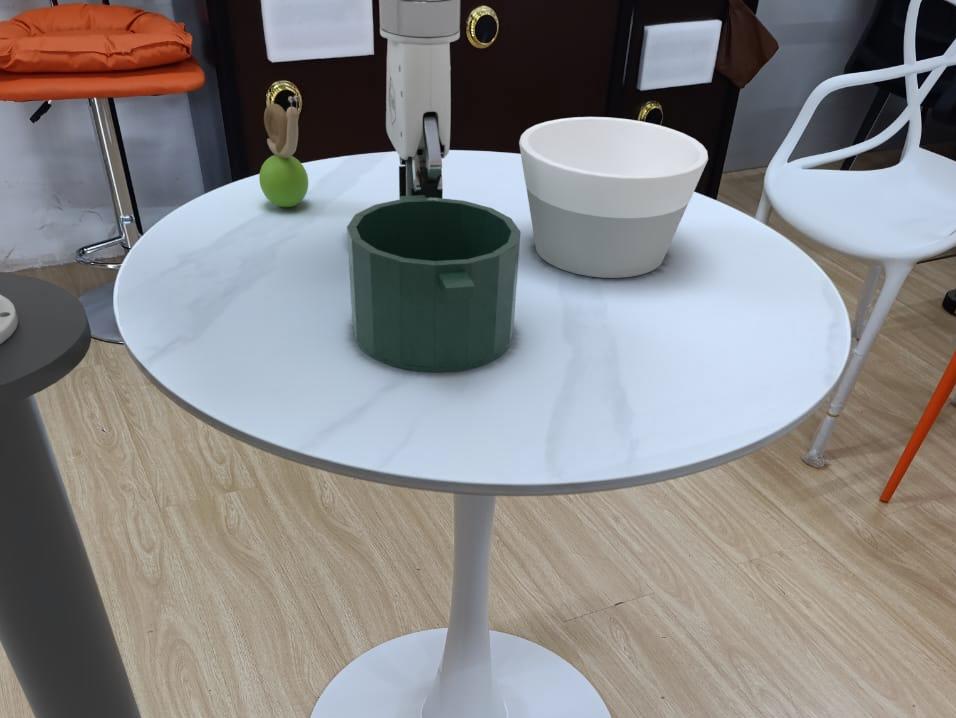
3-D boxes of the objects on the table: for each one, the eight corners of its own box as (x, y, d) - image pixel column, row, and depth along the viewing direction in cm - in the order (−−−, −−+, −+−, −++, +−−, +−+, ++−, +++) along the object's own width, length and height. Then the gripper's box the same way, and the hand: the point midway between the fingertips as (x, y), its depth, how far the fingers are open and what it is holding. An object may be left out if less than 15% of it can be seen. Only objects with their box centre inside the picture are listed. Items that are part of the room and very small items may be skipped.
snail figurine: (284, 220, 103) (272, 100, 94) (253, 203, 106) (238, 85, 98) (324, 210, 105) (316, 92, 97) (292, 193, 109) (282, 78, 100)
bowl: (724, 268, 99) (748, 160, 91) (581, 303, 91) (595, 189, 84) (614, 208, 110) (628, 108, 103) (478, 235, 102) (483, 129, 95)
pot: (372, 395, 77) (368, 283, 70) (340, 291, 91) (333, 190, 84) (539, 380, 80) (549, 272, 73) (483, 282, 94) (487, 184, 87)
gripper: (365, -3, 91) (372, 189, 103) (396, 40, 79) (400, 251, 92) (439, -3, 92) (437, 187, 105) (481, 39, 81) (473, 247, 93)
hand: (420, 215), depth 98 cm, fingers open, 5 cm apart
